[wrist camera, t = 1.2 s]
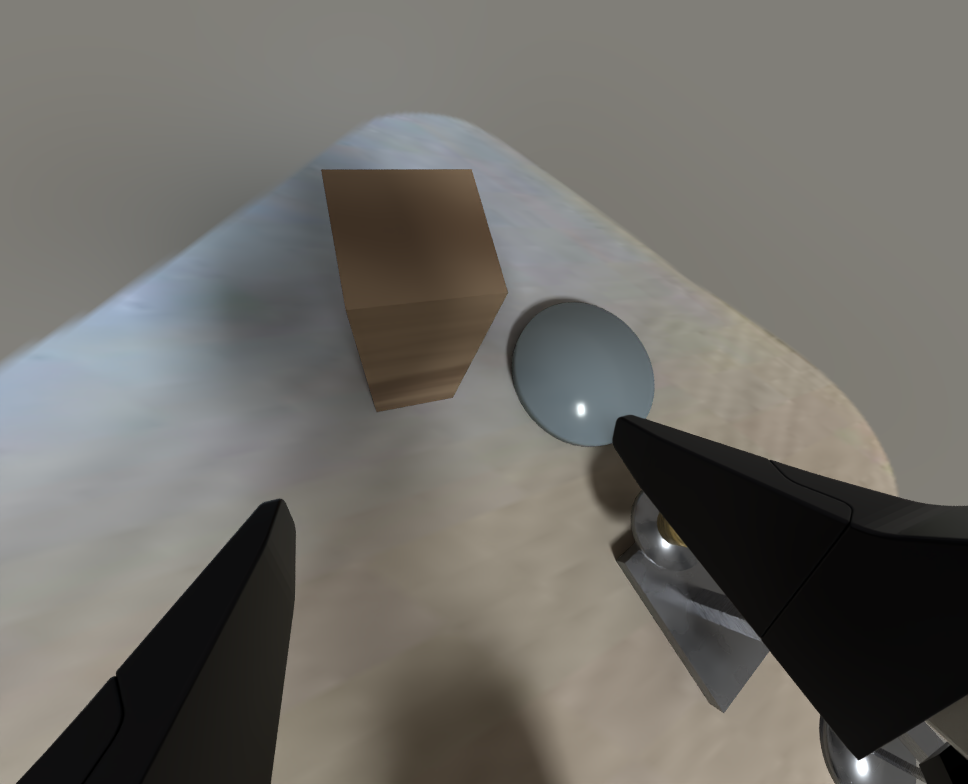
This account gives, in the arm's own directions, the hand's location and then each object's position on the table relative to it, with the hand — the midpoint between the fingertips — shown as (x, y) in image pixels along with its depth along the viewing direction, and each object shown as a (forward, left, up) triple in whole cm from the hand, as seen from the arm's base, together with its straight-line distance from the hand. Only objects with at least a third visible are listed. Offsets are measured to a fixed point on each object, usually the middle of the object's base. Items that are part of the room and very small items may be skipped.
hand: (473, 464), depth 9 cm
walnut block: (+7, -3, -13) cm, 15 cm away
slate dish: (+1, -13, -13) cm, 19 cm away
